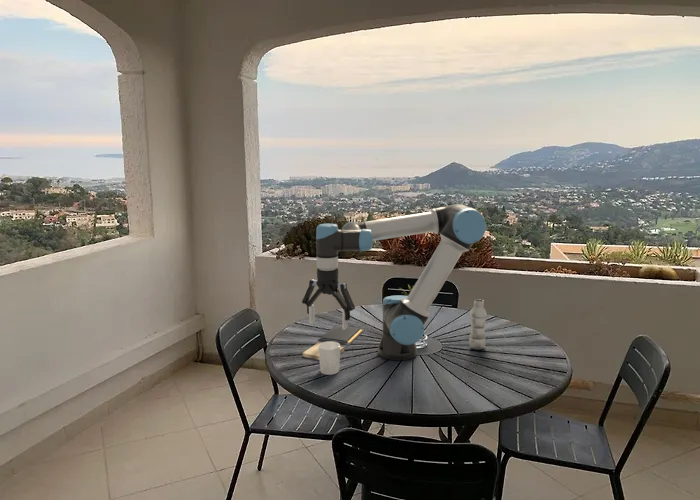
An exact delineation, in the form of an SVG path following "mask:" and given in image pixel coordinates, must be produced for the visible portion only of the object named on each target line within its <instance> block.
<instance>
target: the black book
mask: <svg viewBox="0 0 700 500" xmlns="http://www.w3.org/2000/svg"><path fill="white" fill-rule="evenodd" d="M365 331H366V329H364V328H360V327H354V326H353V327H352V326H348V328H346V329H345V330H342V325H337V324H336V325H334V326H333V327H332V328H330V329H329V330H328V331H327V332H326V333H325V334H323V335H322V336H320V337H319V338H318V339H317V341H318V342H319V343H322V342H327V341H333V342H337V343H339V344H340V345H341V346H344V345H345V346H350V345H352V344H353V343H354V342H355V341H356V340H357V339H358V338H359V337H360V336H361V335H362V334H363V333H364V332H365Z"/></svg>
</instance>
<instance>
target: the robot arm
mask: <svg viewBox="0 0 700 500" xmlns="http://www.w3.org/2000/svg"><path fill="white" fill-rule="evenodd" d="M486 231H487V223H486V220H485V217H484V215H483V214H482V213H481V212H479V210H477V209H476V208H473V207H470V206H467V205H466V204H461V203H460V204H459V203H458V204H450V205H446V206H440V207H434V208H432V209H431V210H430V211H427V212H422V213H421V212H420V213H413V214H407V215H401V216H394V217H388V218H380V219H374V220H368V221H362V222H361V221H360V222H355V221H354V222H353V221H352V222H351V221H350V222H347V223H345V224H344V225H343V226H342V228H341V229H339V227H338V224H336V223H320V224H318V225H317V226H316V232H315V235H316V236H315V242H316V243H315V244H316V245H315V246H316V250H315V251H316V267H317V268H316V278H312V279H310V280H308V281H309V282H308V287H307V289H306V292H305V294H304V296H303V298H302V300H301V303H302V304H303V305H304V304H305V305H306V308H307V309H306V314H308V323H309V325H312V324H313V323H314V324H315V323H316V317H315V316H316V315H315V314H316V313H315V309H316V307H315V304H314V302H316V301H317V299H318V298H319V296H320V295H321V294H323V295H329V296H330V295H331V296H332V297H334V298H335V300H336V302H338V304H339V305H340V306H341V308H342V310H343V311H341V312H342V313H341V314H342V318H341V319H342V325H341V326H342V330H345V329H346V328H348V327H349V320H350V319H351V312H352V311H354V310H355V309H356V306H355V304H354V302H353V299H352V297H351V294H350V293H349V290H348V285H347V283H346V282H343V283H339V269H338V267H339V252H365V251H366V252H367V251H371V250H372V248H373V243H374V241H379V240H388V239H395V238H401V237H407V236H413V235H420V234H428V233H434V235H435V234H436V235H439V234H440V239H441V240H440V242H439V244H438V245H437V247H436V249H435V250H434V252H433V254H432V256H431V257H430V259H429V260H428V262H427V264H426V266H425V267H424V268H423V271H421V272H422V273H421V274H420V276H419V277H418V279H417V281H416V282H415V284H414V285H413V289H412V288H411V289H412V291H411V292H409V293H408V295H409V296H406V295H402V294H401V295H390V296H385V297H384V298H383V300H382V305H381V307H382V335H381V338H380V340H379V344H378V347H377V348H378V349H377V350H378V355H379V356H380V357H381V358H383V359H387V360H391V361H406V360H411V359H413V358H415V357H416V356H417V354H418V348H417V344H416V343H418V342H419V341H420V340H421V339H422V337H423V335H424V333H425V324H426V323H427V321H428V319H429V317H430V313H429V309H430V308H431V305H432V304H433V302H434V300H435V299H436V297H437V296H438V294H439V292H440V291H441V289H442V288H443V286H444V284H445V283H446V281H447V279H448V277H449V276H450V274H451V273H452V271H453V269H454V267H455V266H456V264H457V263H458V261H459V259H460V257H461V256H462V255H463V253H465V252H469V251H470V249H471V248H472V246H473V245H474V244H475V243H477V242H479V241H480V240H481V239H482V238H483V237H484V235H485V233H486ZM316 279H317V280H316ZM315 286H317V287H318V289H317V290H315V292H314V294H313V291H314V289H315Z"/></svg>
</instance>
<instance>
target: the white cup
mask: <svg viewBox="0 0 700 500" xmlns="http://www.w3.org/2000/svg"><path fill="white" fill-rule="evenodd" d="M319 343H320V344H319V345H318V348H319V360H318V361H319V369H320V373H321V374H323V375H327V376H329V375H330V376H331V375H336V374H337V373H339V372H340V362H341V361H340V360H341V354H340V347H341V344H339V343H337V342H333V341H327V342H319Z"/></svg>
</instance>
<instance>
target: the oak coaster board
mask: <svg viewBox="0 0 700 500" xmlns="http://www.w3.org/2000/svg"><path fill="white" fill-rule="evenodd" d="M320 343H321V342H317V343H316V344H314V345H313V346H310V348H308V349H307V350H305V351H303V352H302V357H303V358H308V359H314V360H318V361H320V360H319V348H318V345H319V344H320ZM344 352H345V347H344V346H340V355H341V354H342V353H344Z"/></svg>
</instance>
